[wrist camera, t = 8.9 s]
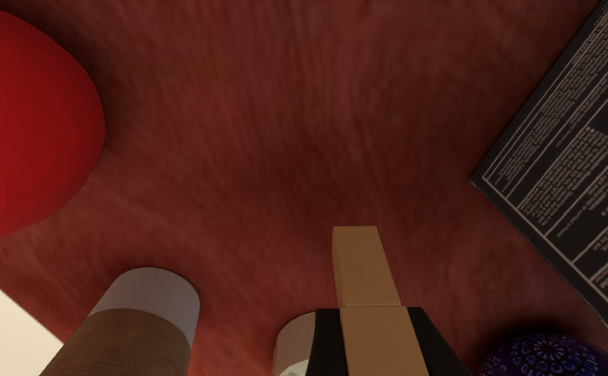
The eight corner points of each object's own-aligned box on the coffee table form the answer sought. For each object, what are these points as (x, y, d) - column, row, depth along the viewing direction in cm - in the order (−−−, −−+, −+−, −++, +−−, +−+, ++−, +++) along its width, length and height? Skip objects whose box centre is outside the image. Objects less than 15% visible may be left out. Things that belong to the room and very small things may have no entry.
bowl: (391, 319, 25) (404, 366, 22) (358, 382, 29) (365, 430, 26) (287, 302, 24) (285, 348, 21) (266, 369, 28) (262, 417, 25)
